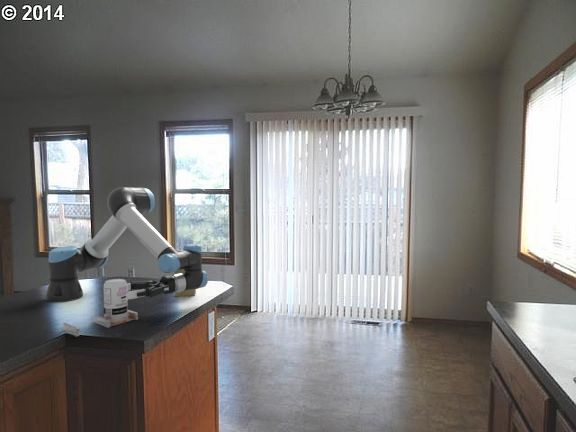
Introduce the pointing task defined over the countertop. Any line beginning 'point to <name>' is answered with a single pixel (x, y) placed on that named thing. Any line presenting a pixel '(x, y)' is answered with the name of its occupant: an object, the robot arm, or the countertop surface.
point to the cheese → (187, 292)
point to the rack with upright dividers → (100, 321)
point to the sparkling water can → (115, 300)
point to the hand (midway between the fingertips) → (120, 292)
